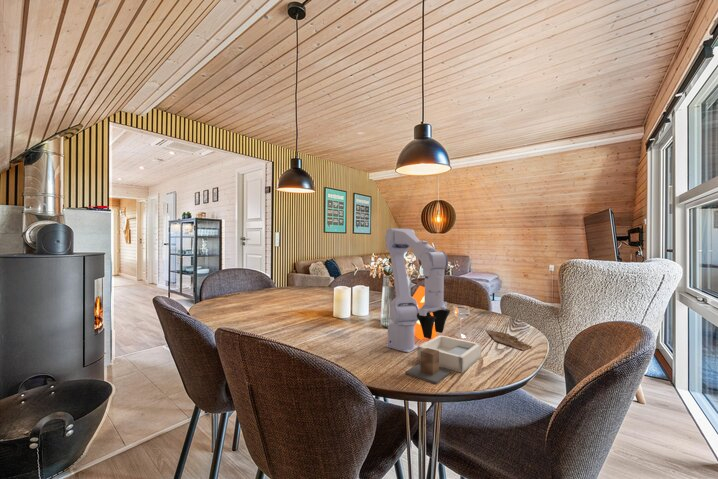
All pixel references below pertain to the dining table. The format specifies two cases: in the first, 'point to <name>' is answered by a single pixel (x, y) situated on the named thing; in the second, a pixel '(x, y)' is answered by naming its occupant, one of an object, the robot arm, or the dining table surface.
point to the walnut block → (429, 361)
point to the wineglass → (461, 316)
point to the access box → (453, 352)
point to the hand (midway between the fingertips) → (433, 335)
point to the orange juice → (419, 298)
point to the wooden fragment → (508, 340)
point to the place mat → (431, 378)
